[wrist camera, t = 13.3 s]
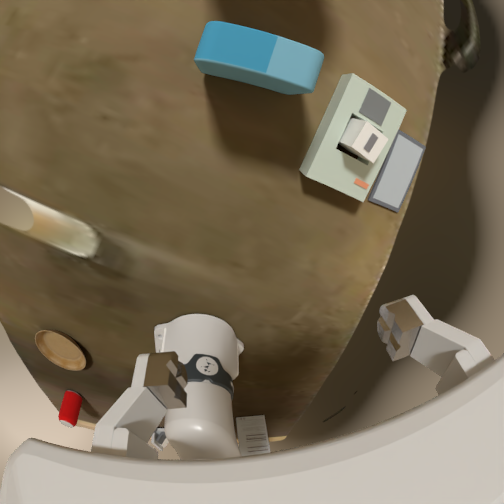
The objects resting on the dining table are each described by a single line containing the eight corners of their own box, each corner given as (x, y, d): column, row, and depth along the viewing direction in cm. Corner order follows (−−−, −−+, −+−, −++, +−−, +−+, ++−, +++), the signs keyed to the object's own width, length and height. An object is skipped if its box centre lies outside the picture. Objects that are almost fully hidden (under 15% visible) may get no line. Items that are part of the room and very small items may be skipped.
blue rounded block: (297, 67, 30) (329, 54, 20) (287, 95, 32) (317, 93, 22) (210, 43, 27) (205, 18, 17) (200, 73, 30) (191, 59, 19)
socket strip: (353, 194, 41) (363, 202, 38) (299, 169, 38) (306, 176, 35) (393, 108, 34) (407, 110, 31) (342, 74, 31) (353, 73, 28)
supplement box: (264, 424, 80) (271, 467, 66) (237, 427, 80) (241, 470, 65) (264, 414, 75) (272, 460, 61) (235, 417, 75) (240, 464, 60)
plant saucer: (42, 313, 47) (38, 320, 45) (95, 345, 53) (92, 354, 51) (35, 342, 52) (32, 349, 49) (81, 369, 58) (78, 377, 55)
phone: (395, 210, 44) (398, 212, 43) (366, 198, 42) (369, 200, 41) (422, 145, 38) (426, 147, 37) (394, 128, 36) (398, 129, 35)
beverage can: (86, 399, 66) (79, 430, 56) (72, 397, 65) (64, 427, 55) (76, 389, 63) (68, 421, 52) (62, 387, 62) (53, 418, 52)
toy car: (199, 450, 69) (205, 458, 75) (199, 425, 77) (205, 436, 83) (147, 448, 68) (158, 457, 74) (149, 424, 76) (159, 435, 82)
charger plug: (350, 152, 37) (374, 163, 31) (330, 138, 36) (351, 146, 30) (363, 131, 36) (389, 139, 30) (343, 116, 34) (367, 121, 28)
